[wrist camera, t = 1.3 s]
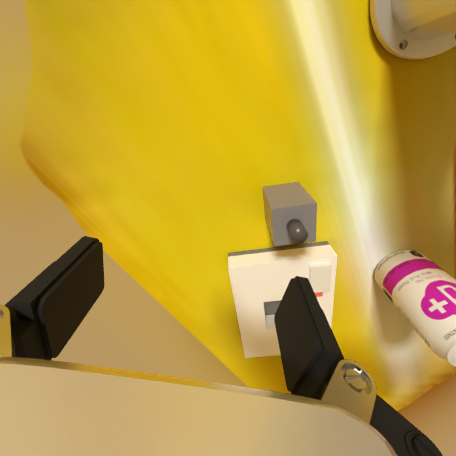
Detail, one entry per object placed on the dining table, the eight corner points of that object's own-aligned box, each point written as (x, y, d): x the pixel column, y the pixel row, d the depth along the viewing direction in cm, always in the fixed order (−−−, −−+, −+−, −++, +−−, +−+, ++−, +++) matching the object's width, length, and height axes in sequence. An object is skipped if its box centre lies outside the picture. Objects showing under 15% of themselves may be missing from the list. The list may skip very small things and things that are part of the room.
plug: (298, 181, 33) (324, 212, 23) (298, 213, 35) (322, 252, 26) (262, 186, 33) (275, 218, 24) (265, 218, 35) (277, 257, 26)
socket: (327, 241, 37) (339, 258, 33) (321, 332, 47) (330, 355, 43) (228, 253, 38) (228, 271, 34) (243, 339, 49) (245, 362, 44)
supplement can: (370, 255, 38) (444, 334, 25) (424, 241, 37) (532, 317, 24) (373, 290, 42) (438, 376, 29) (422, 279, 41) (515, 363, 27)
